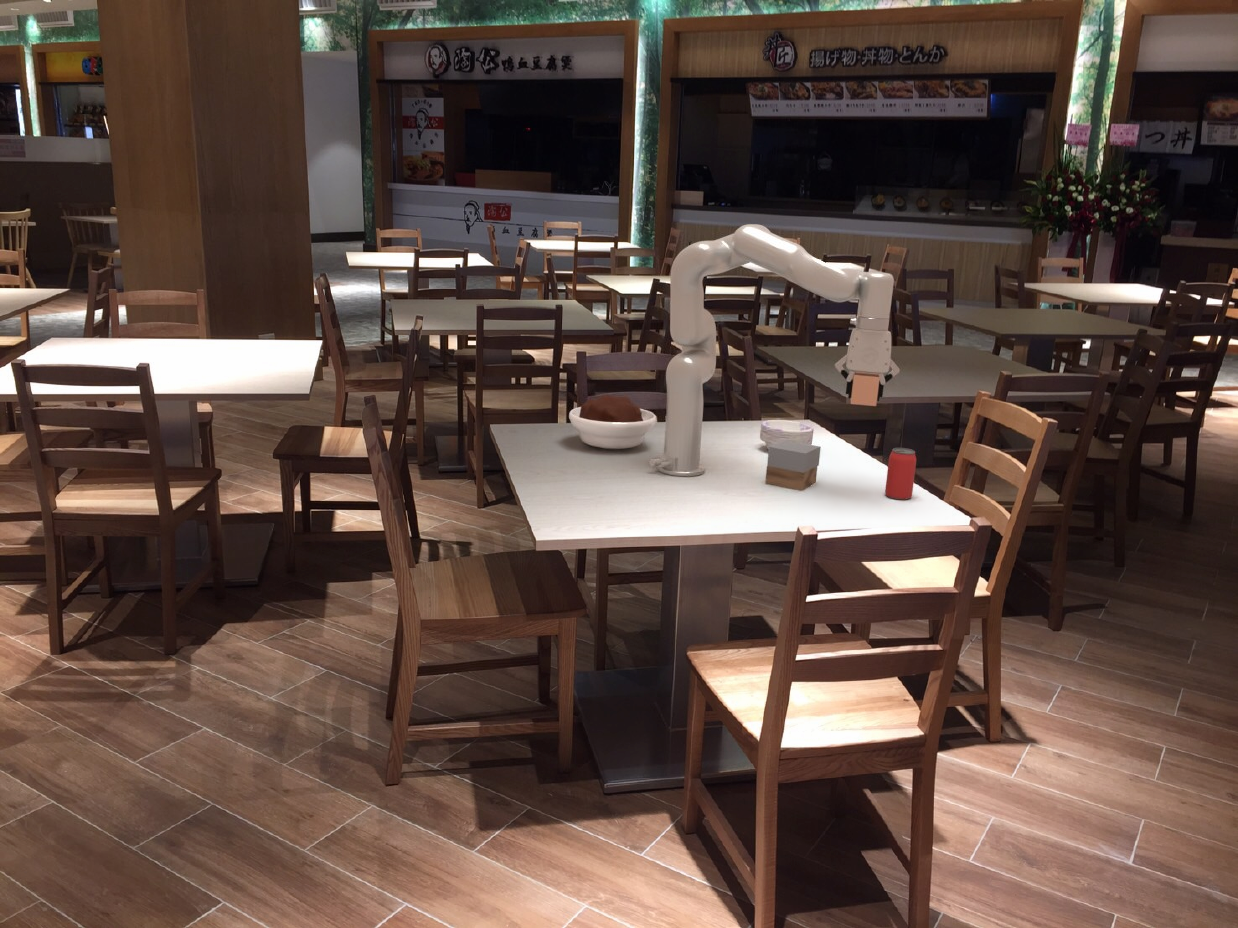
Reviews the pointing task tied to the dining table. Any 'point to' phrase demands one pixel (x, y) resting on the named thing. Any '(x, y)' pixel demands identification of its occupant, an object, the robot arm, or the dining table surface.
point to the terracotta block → (865, 389)
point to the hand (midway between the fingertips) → (863, 398)
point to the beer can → (900, 474)
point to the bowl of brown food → (611, 422)
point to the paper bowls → (785, 432)
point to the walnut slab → (790, 478)
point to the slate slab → (793, 456)
